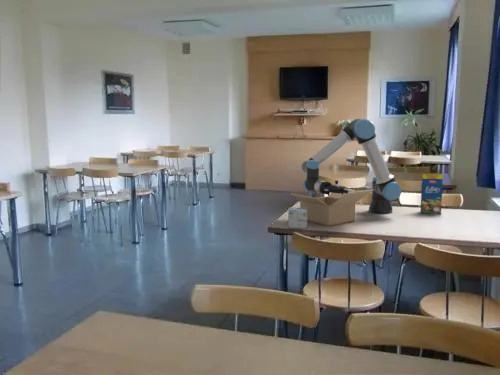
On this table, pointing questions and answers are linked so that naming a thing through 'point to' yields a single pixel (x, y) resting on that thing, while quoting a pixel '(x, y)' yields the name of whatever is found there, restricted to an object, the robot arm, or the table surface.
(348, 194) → the carton flap
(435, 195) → the blue food package
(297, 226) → the light bulb box
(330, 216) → the carton
